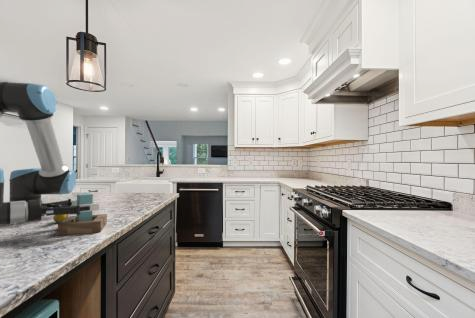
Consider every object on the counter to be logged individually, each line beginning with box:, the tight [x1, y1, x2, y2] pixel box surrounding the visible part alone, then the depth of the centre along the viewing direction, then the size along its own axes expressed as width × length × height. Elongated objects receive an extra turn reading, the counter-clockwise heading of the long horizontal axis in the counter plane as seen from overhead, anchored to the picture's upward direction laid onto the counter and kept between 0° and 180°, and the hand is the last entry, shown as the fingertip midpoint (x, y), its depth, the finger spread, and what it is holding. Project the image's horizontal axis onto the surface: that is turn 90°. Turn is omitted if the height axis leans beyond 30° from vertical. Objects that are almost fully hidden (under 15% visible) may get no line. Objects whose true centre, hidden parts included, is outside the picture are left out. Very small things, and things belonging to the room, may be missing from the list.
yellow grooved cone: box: [53, 214, 69, 224], centre depth 108 cm, size 5×5×10 cm
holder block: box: [57, 213, 108, 236], centre depth 100 cm, size 14×14×4 cm
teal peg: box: [76, 192, 94, 221], centre depth 100 cm, size 4×4×14 cm
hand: (93, 204), depth 102 cm, fingers open, 13 cm apart
